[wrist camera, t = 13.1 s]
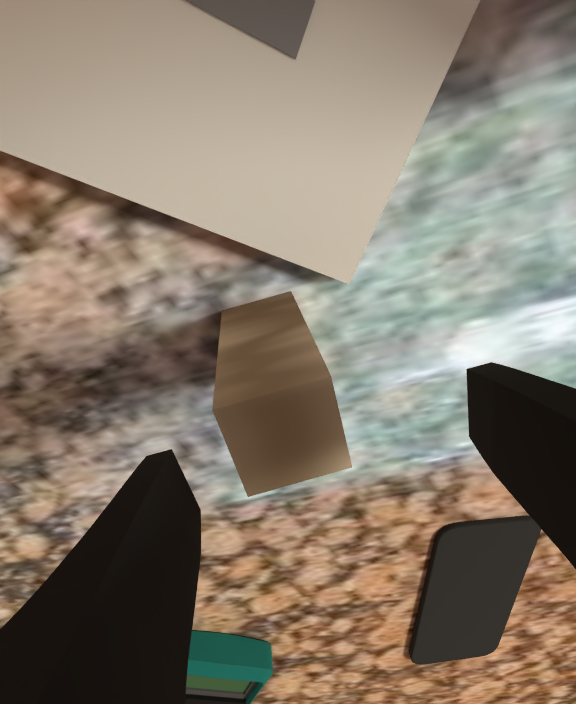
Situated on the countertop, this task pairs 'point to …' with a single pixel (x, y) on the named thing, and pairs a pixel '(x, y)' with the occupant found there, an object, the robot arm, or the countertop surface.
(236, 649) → the digital multimeter
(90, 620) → the robot arm
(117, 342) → the countertop surface
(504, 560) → the phone
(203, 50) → the switch panel
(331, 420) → the tall stone pillar
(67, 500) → the countertop surface
